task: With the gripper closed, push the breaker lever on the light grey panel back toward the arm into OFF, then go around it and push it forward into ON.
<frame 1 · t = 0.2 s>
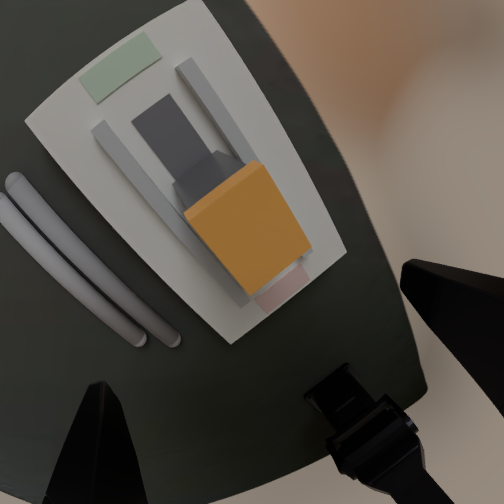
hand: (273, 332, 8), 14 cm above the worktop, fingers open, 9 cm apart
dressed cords: (97, 266, 20), on the worktop
breaker panel: (200, 181, 21), on the worktop
breaker lever: (231, 211, 15), point 6 cm above the worktop, slide at 4.0 cm
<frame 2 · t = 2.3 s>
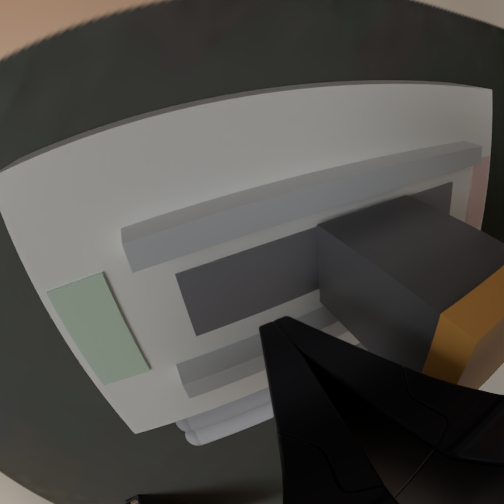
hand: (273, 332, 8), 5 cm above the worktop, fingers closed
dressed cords: (314, 357, 18), on the worktop
breaker panel: (307, 216, 14), on the worktop
breaker lever: (427, 289, 9), point 6 cm above the worktop, slide at 3.6 cm, touching gripper
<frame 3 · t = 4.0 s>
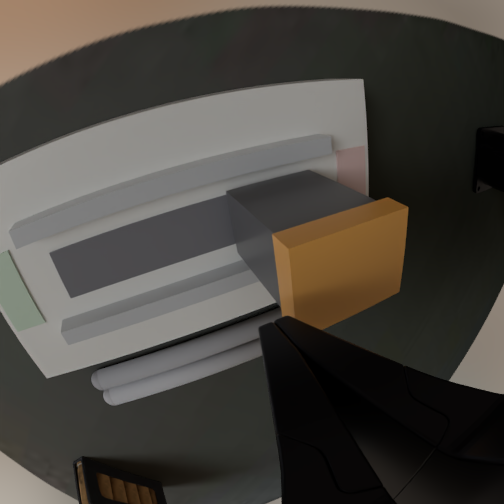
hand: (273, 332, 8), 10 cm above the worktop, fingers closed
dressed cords: (210, 336, 21), on the worktop
ammunition clip: (119, 472, 25), on the worktop
breaker panel: (174, 211, 16), on the worktop
breaker lever: (307, 236, 12), point 6 cm above the worktop, slide at 0.0 cm
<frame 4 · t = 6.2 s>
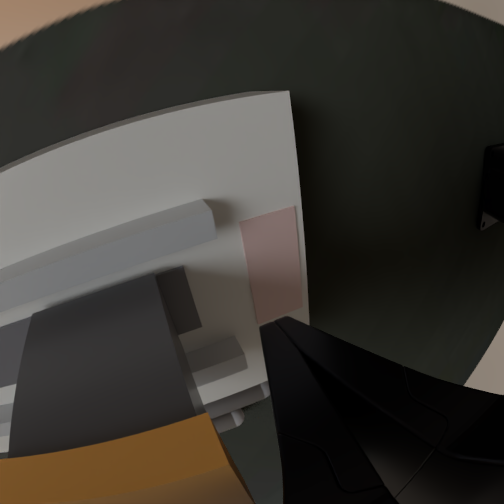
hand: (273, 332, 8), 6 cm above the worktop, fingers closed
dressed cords: (124, 422, 16), on the worktop
breaker panel: (41, 300, 11), on the worktop
breaker lever: (115, 410, 7), point 6 cm above the worktop, slide at 0.9 cm, touching gripper
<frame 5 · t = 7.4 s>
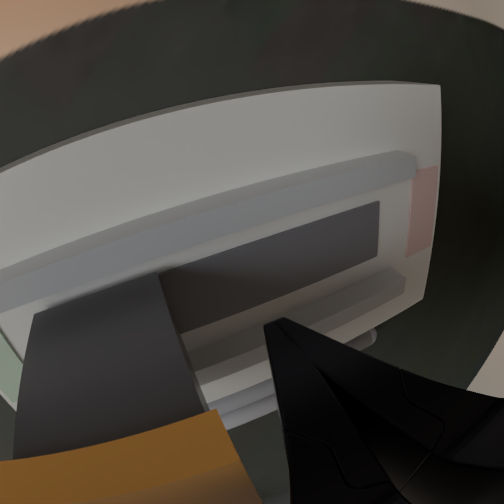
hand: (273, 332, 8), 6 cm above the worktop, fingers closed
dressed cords: (243, 382, 17), on the worktop
breaker panel: (206, 244, 13), on the worktop
breaker lever: (120, 410, 7), point 6 cm above the worktop, slide at 8.1 cm, touching gripper
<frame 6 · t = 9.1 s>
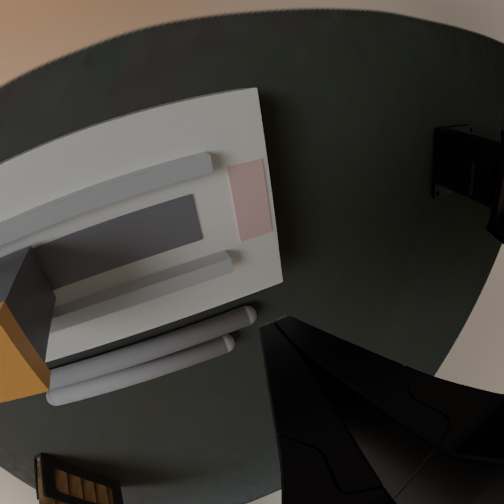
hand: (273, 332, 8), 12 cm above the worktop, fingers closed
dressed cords: (136, 347, 21), on the worktop
ammunition clip: (78, 470, 25), on the worktop
breaker panel: (84, 232, 16), on the worktop
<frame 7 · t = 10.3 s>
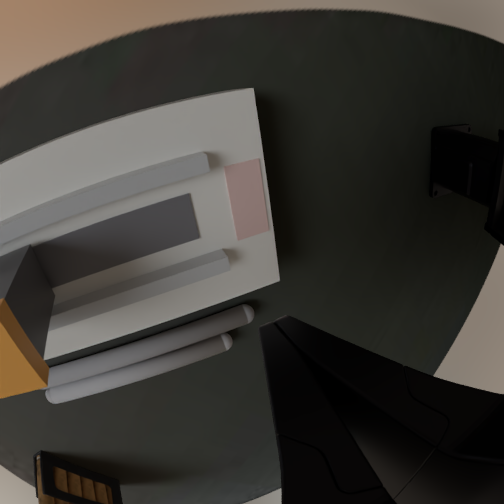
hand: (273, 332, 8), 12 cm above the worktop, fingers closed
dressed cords: (135, 345, 21), on the worktop
ammunition clip: (77, 468, 25), on the worktop
breaker panel: (83, 231, 17), on the worktop
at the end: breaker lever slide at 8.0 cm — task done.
